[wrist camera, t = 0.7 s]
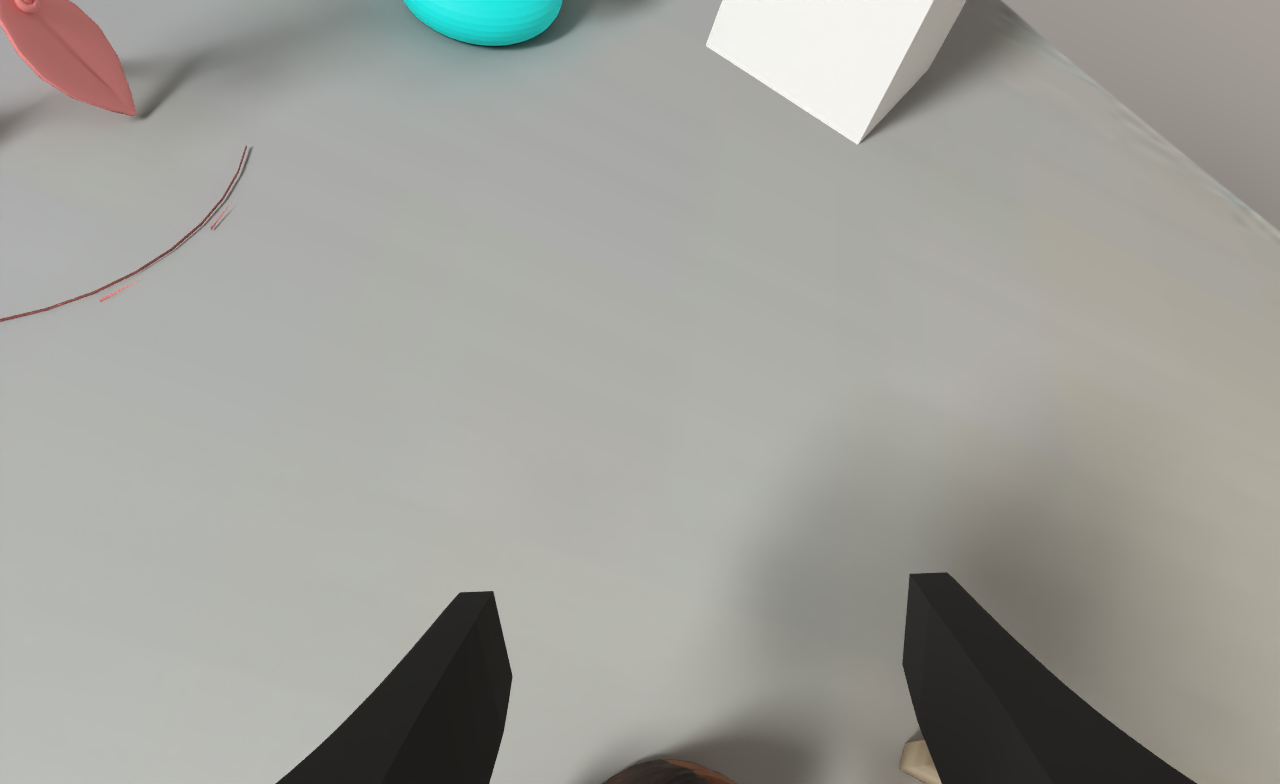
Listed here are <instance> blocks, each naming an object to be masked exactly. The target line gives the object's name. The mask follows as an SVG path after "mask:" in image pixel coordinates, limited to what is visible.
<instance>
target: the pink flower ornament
mask: <svg viewBox="0 0 1280 784" xmlns="http://www.w3.org/2000/svg"><path fill="white" fill-rule="evenodd" d="M0 25H1V27H2V29H3V30H4V32H5V34H6V35H7V37H8V39H9V40H10V42H11V44H12V45H13V47H14V49H15V50H16V52H17V54H18V55H19V56H20V57H21V58H22V59H23V60H24V61H25V62H26V63H27V64H28V66H29V67H30V68H31V69H32V70H33V71H34V72H35V73H36V74H37V75H38V76H39V77H40V78H41V79H43V80H44V81H46V82H47V83H49V84H51V85H52V86H54V87H55V88H57V89H58V90H60V91H62V92H63V93H65V94H66V95H68V96H70V97H71V98H74V99H77V100H80V101H83V102H86V103H88V104H91V105H94V106H97V107H100V108H103V109H106V110H109V111H112V112H117V113H121V114H126V115H131V116H134V115H136V110H135V106H134V102H133V98H132V94H131V91H130V88H129V85H128V83H127V80H126V77H125V75H124V72H123V69H122V66H121V64H120V61H119V58H118V55H117V54H116V52H115V51H114V49H113V48H112V46H111V45H110V43H109V41H108V40H107V38H106V37H105V35H104V34H103V32H102V31H101V29H100V27H99V26H98V25H97V24H96V23H95V22H94V21H93V20H92V19H91V18H89V17H88V16H87V15H86V14H85V13H84V12H83V11H82V10H81V9H80V8H79V7H78V6H77V5H75V4H74V3H72V2H71V1H69V0H0ZM246 148H247V146H246V147H245V150H244V153H243V156H242V159H241V162H240V166H239V169H238V171H237V173H236V175H235V177H234V178H233V180H232V182H231V184H230V185H229V187H228V189H227V191H226V192H225V194H224V196H223V197H222V199H221V200H220V201H219V202H218V203H217V205H216V206H215V207H214V208H213V209H212V210H211V212H210V213H209V214H208V215H207V216H206V217H205V219H204V220H203V221H202V222H201V223H200V224H199V225H198V226H197V227H196V228H194V229H193V230H192V231H191V232H190V233H189V234H187V235H186V236H185V237H184V238H183V239H182V240H180V241H179V242H178V243H177V244H176V245H175V246H173V247H172V248H171V249H169V250H168V251H166V252H165V253H163V254H162V255H160V256H159V257H157V258H155V259H154V260H152V261H151V262H149V263H148V264H146V265H145V266H143V267H141V268H140V269H138V270H137V271H135V272H133V273H131V274H129V275H127V276H125V277H123V278H120V279H118V280H116V281H114V282H112V283H110V284H108V285H106V286H104V287H102V288H100V289H98V290H96V291H93V292H91V293H88V294H85V295H82V296H79V297H76V298H74V299H71V300H68V301H65V302H62V303H59V304H56V305H54V306H51V307H48V308H45V309H40V310H36V311H32V312H28V313H24V314H19V315H15V316H11V317H7V318H2V319H0V321H4V320H9V319H13V318H17V317H21V316H25V315H30V314H34V313H38V312H42V311H46V310H50V309H52V308H55V307H58V306H61V305H64V304H67V303H69V302H72V301H75V300H78V299H81V298H84V297H86V296H89V295H92V294H95V293H97V292H99V291H101V290H103V289H105V288H107V287H109V286H112V285H114V284H116V283H118V282H120V281H122V280H124V279H126V278H128V277H130V276H132V275H134V274H136V273H138V272H140V271H141V270H143V269H144V268H146V267H147V266H149V265H150V264H152V263H154V262H155V261H157V260H158V259H160V258H161V257H163V256H164V255H166V254H168V253H169V252H171V251H172V250H173V249H175V248H176V247H177V246H178V245H179V244H180V243H182V242H183V241H184V240H185V239H186V238H187V237H189V236H190V235H191V234H192V233H193V232H194V231H196V230H197V229H198V228H199V227H200V226H201V225H202V224H203V223H204V222H205V221H206V219H207V218H208V217H209V216H210V215H211V214H212V212H213V211H214V210H215V209H216V208H217V206H218V205H219V204H220V203H221V202H222V201H223V199H224V198H225V196H226V194H227V192H228V191H229V189H230V187H231V185H232V184H233V182H234V180H235V178H236V177H237V175H238V173H239V170H240V167H241V164H242V161H243V158H244V155H245V151H246ZM229 206H230V205H229ZM229 206H228V207H229ZM228 207H227V208H228ZM226 210H227V209H226ZM226 210H225V211H226ZM225 211H224V212H225ZM224 212H223V213H222V215H223V214H224ZM222 215H221V216H222ZM221 216H220V217H219V218H218V219H217V221H216V222H215V223H214V224H213V225H212V227H211V230H212V228H213V227H214V226H215V224H216V223H217V222H218V220H219V219H220V218H221ZM136 282H137V281H136ZM134 283H135V282H134ZM134 283H132V284H134ZM132 284H130V285H132ZM130 285H128V286H130ZM128 286H126V287H128ZM126 287H124V288H122V289H120V290H118V291H116V292H114V293H112V294H110V295H108V296H106V297H104V298H102V299H100V302H101V301H103V300H105V299H106V298H108V297H110V296H112V295H114V294H115V293H117V292H119V291H121V290H123V289H125V288H126Z"/></svg>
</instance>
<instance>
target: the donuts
mask: <svg viewBox="0 0 1280 784" xmlns="http://www.w3.org/2000/svg"><path fill="white" fill-rule="evenodd" d="M403 1H404V2H405V4H406V5H407V6H408V8H409V9H410V10H411V12H412V13H413V14H414V15H415V16H416V17H417V18H418V19H420V20H421V21H422V22H423V23H425V24H426V25H428V26H429V27H431V28H432V29H434V30H435V31H437V32H439V33H441V34H443V35H445V36H448V37H450V38H453V39H456V40H459V41H462V42H466V43H471V44H477V45H486V46H500V45H510V44H515V43H519V42H523V41H526V40H528V39H531V38H533V37H535V36H537V35H538V34H540V33H542V32H543V31H544V30H546V29H547V28H548V27H549V26H550V25H551V24H552V22H553V21H554V20H555V18H556V17H557V15H558V13H559V11H560V8H561V6H562V2H563V0H403Z"/></svg>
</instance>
